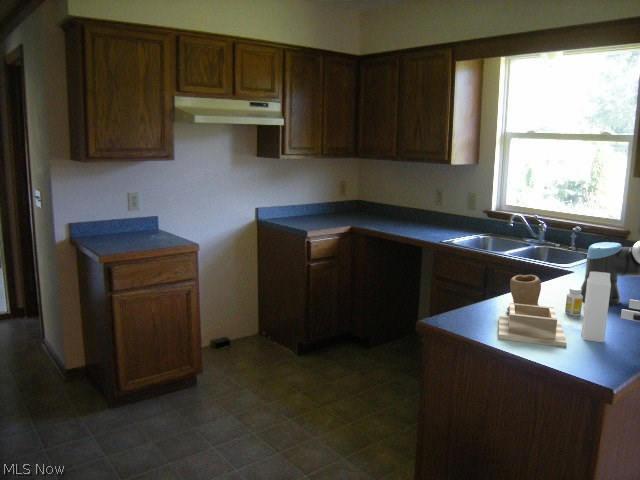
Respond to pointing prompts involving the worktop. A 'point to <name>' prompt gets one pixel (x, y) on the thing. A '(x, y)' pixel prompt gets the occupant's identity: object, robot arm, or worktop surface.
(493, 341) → the worktop surface
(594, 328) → the milk
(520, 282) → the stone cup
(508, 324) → the wooden stepped stand
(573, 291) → the supplement bottle
